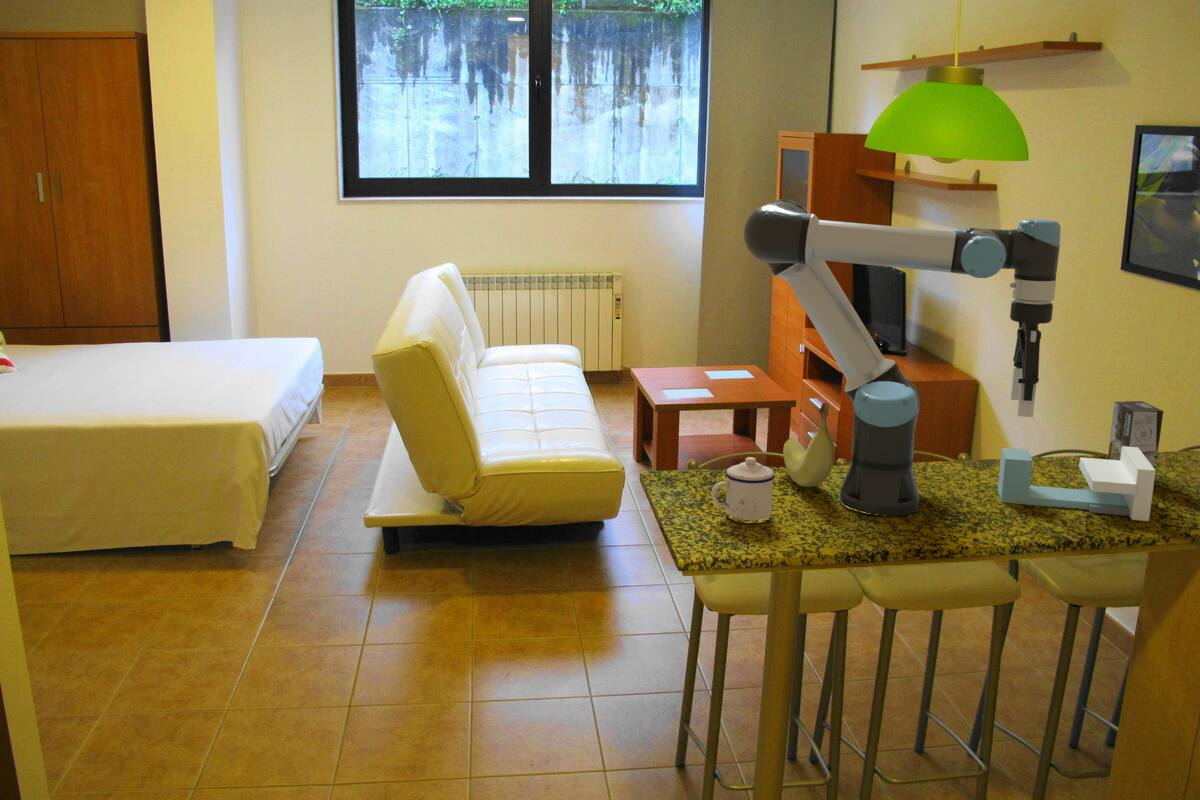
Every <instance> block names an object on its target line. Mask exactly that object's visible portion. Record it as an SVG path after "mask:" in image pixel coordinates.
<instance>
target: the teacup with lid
mask: <svg viewBox="0 0 1200 800" xmlns="http://www.w3.org/2000/svg"><path fill="white" fill-rule="evenodd" d="M725 476H726V481H720V482H717V483H716V484H714V486H713V487H712V489H711V497H712V501H713V503H715V505H716V506H718V507H720V508H723V509H725V513H726V512H727V513H728V514H729V515H731V516H733V517H737V518H741V519H746V520H760V519H765V518H768V517H769V516H771V514H772V512H773V511H772V510H773V492H774V491H773V489H774V479H775V477H776V476H775V472H774V470H772V469H771V468H770V467H768V466H765V465H763V464H761V463H759V462H757V459H756V458H755V457H752V456H747V457H746V458H745V461H742V462H740V463H739V464H735V465H732V466H729V467H728V468H727V470H726V472H725ZM723 487H726V496H725V497H726V500H725V502H720V501H719V500H718V498H717V492H718V490H719V489H720V488H723ZM772 515H773V514H772ZM771 517H772V516H771Z"/></svg>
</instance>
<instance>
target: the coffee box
mask: <svg viewBox="0 0 1200 800" xmlns="http://www.w3.org/2000/svg"><path fill="white" fill-rule="evenodd" d="M1163 417H1164V411H1163V410H1162V409H1159V408H1158V407H1156V406H1153V405H1151V404H1150V403H1147V402H1145V401H1140V400H1137V401H1136V400H1131V401H1130V400H1129V401H1127V400H1126V401H1114V402H1113V411H1112V420H1111V429H1110V437H1109V447H1108V456H1107V460H1120V457H1121V449H1122V446H1126V447H1138V448H1139V449H1140V451H1141V452H1142V453H1143V455H1144V456H1145V457H1146V458H1147V460H1148V461H1149V462H1150V464H1151V465H1152V466H1153V468H1154V469H1155V470H1156V469H1157V463H1158V462H1157V461H1158V455H1159V447H1160V446H1159V445H1160V437H1161V432H1162V424H1163ZM1156 471H1157V470H1156Z"/></svg>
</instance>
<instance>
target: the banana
mask: <svg viewBox="0 0 1200 800" xmlns="http://www.w3.org/2000/svg"><path fill="white" fill-rule="evenodd" d="M829 408H830V407H829V404H828V403H827V402H823V403H822V404H821V407H820V408H819V411H818V412H819V414H820V424H819V428H818V431H816V432H815V433H814V435H813V436H812V438H811V439H810V442H809V444H808V446H807V448H806V450H805V449H804V447H803V446H802V445H801V444H800V443H799V442H798V441H797V440H796V439H795V438H791V437H789V438H788V439H786V440H785V442H784V445H783V449H782V453H783V455H782V456H783V460H784V464H785V468H786V471H787V473H788V475H789V477H790V478H791V481H793V482H794V483H795V482H796V483H797V484H796V483H795V484H796V485H798V486H800V487H807V488H809V487H816V486H820V485H821V484H823V483H824V482H825V480H826V479H827V478H828V476H829V475H830V473H831V471H832V467H833V464H834V459H835V458H834V457H835V444H834V441H833V439H832V437H831V435H830V432H829V430H828V428H827V418H828V416H829Z"/></svg>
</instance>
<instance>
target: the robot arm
mask: <svg viewBox="0 0 1200 800" xmlns="http://www.w3.org/2000/svg"><path fill="white" fill-rule="evenodd" d="M1061 227H1062V226H1061V224H1059V222H1058V221H1056V220H1052V219H1039V218H1036V219H1035V218H1034V219H1033V218H1032V219H1031V218H1028V219H1022V220H1020V221H1019V223H1018V226H1017V229H1016V228H1015V229H1014V228H1013V229H999V228H997V229H994V228H976V227H967V228H966V227H965V228H961V227H960V228H959V227H958V228H956V229H954V231H949V230H948V231H947V230H937V229H926V228H915V227H905V226H904V227H903V226H894V225H882V224H869V223H859V222H847V221H838V220H837V221H836V220H825V219H824V220H823V219H819V218H818V217H817V215H816V214H815V213H809V212H808V210H807V208H805V207H804V206H803V205H801V204H799V203H798V202H796V201H793V200H789V199H777V200H772V201H771V202H769V203H767V204H764V205H761V206H760V207H757V208H756V209H755V210H753V211H752V212H751V213H750V215H749V216H748V218H747V220H746V222H745V225H744V229H743V239H744V243H745V245H746V248H747V250H748V251H749V253H750V254H751V255H752V256H753V257H755V258H756V259H757V260H759V261H761V262H763V263H766V264H767V266H768V267H769V269H770V271H771V272H772V274H773V275H774V277H775V278H777V279H783V280H785V281H786V282H787V284H788V286H789V287H790V289H791V291H792V292H793V293H794V296H795V297H796V299H797V300H798V302H799V303H800V306H801V307H802V308H803V310H804V311H805V313H806V315H807V316H808V318H809V320H810V322H811V323H812V324H813V325H812V326H814V328H815V330H816V332H817V333H818V334H819V335H818V336H820V338H821V339H822V341H823V342H824V344H825V346H826V348H827V349H828V351H829V352H830V354H831V356H832V357H833V360H835V362H836V364H837V366H838V367H839V369H840V371H841V372H842V374H843V375H844V377H845V379H846V383H845V386H844V392H845V393H846V394H847V396H848V398H849V400H850V401H851V403H852V404H853V405H852V407H853V425H852V426H853V427H852V439H851V441H852V442H851V453H850V455H851V457H850V465H849V467H848V470H847V472H846V474H845V477H844V479H843V482H842V484H841V487H840V489H839V499H840V501H841V503H843V504H844V505H846V506H848V507H850V508H853V509H856V510H858V511H863V512H866V513H871V514H878V515H886V516H885V517H901V516H907V515H911V514H913V513H916V512H917V511H918V510H919V505H920V503H919V502H920V494H919V491H918V486H917V483H916V478H915V475H914V470H913V458H914V450H915V449H914V447H915V434H916V426H917V420H918V415H919V412H920V407H921V403H920V402H921V401H920V396H919V393H918V390H917V388H916V387H915V385H914V384H913V382H911V380H909V379H908V378H907V377H906V376H905V375H904V373H903V372H902V370H901V369H900V367H899V365H898V364H897V362H896V361H895V360H894V359H890V358H886V357H884V355H883V354H882V352H881V350H880V349H879V347H878V346H877V344H876V342H875V340H874V339H873V338H872V336H871V335H870V333H869V331H868V329H867V328H866V326H865V325H864V322H862V319H861V318H860V316H859V315H858V313H857V311H856V310H855V308H854V306H853V305H852V304H851V302H850V300H849V298H848V297H847V295H846V293H845V292H844V290H843V289H842V286H841V285H840V284H839V282H838V281H837V279H836V277H835V276H834V274H833V272H832V271H831V268H829V266H828V264H827V263H826V262H835V263H836V262H837V263H844V264H845V263H846V264H847V263H848V264H858V265H866V266H868V265H869V266H878V267H879V266H880V267H889V268H900V269H909V270H912V269H913V270H922V271H931V272H942V273H952V274H957V275H958V274H959V275H969V276H970V277H974V278H977V279H988V278H991V277H993V276H996V275H997V274H998V273H999V272H1000V270H1003V269H1004V270H1005V269H1006V270H1010V269H1011V270H1014V274H1013V275H1014V276H1013V281H1014V282H1010V284H1009V287H1010V288H1011V289H1012V298H1013V299H1014V300H1012V301H1011V303H1010V305H1011V306H1010V314H1009V318H1010V319H1011V321H1012V322H1016V323H1018V329H1017V331H1016V332H1017V333H1016V343H1015V348H1014V354H1013V358H1012V361H1013V374H1012V382H1011V393H1010V400H1011V401H1018V406H1017V407H1018V408H1017V413H1016V414H1017V417H1024V418H1027V417H1028V418H1033V417H1034V409H1035V400H1036V399H1035V398H1036V390H1037V384H1038V383H1039V381H1040V378H1039V373H1040V372H1039V371H1040V370H1039V369H1040V350H1041V349H1040V348H1041V347H1040V345H1041V344H1040V343H1041V339H1042V331H1040V329H1039V325H1040V324H1049V323H1050V322H1051V321H1052V320H1053V319H1052V318H1053V309H1054V304H1053V303H1052V301H1054V299H1055V296H1056V295H1055V293H1056V285H1057V272H1058V263H1059V256H1060V248H1061V245H1060V244H1061V232H1062V231H1061ZM840 501H839V502H840ZM841 503H840V504H841Z"/></svg>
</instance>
